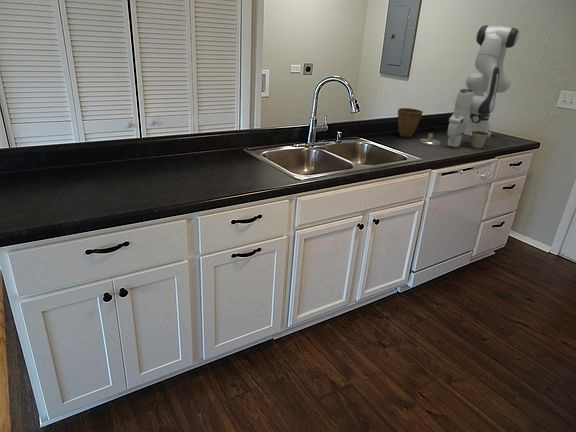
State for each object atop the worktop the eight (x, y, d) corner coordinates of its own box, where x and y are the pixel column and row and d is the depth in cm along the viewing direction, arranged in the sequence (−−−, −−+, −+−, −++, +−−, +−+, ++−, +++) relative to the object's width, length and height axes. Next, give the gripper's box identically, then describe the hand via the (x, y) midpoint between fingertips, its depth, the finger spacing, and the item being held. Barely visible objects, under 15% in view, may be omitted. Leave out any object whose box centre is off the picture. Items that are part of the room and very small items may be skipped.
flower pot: (475, 149, 231) (479, 134, 227) (464, 145, 239) (468, 131, 236) (488, 149, 234) (492, 134, 230) (478, 145, 242) (481, 130, 238)
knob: (450, 143, 241) (452, 132, 239) (460, 145, 238) (463, 134, 235) (446, 145, 237) (448, 133, 234) (456, 147, 233) (459, 135, 230)
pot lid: (424, 139, 247) (426, 130, 245) (443, 143, 240) (445, 134, 238) (415, 142, 239) (417, 133, 237) (434, 146, 232) (436, 137, 229)
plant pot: (389, 133, 256) (393, 108, 249) (406, 132, 263) (410, 107, 256) (405, 139, 244) (410, 113, 238) (422, 137, 251) (428, 112, 244)
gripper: (461, 115, 240) (455, 138, 245) (448, 119, 225) (442, 143, 231) (471, 117, 236) (465, 140, 242) (459, 121, 222) (453, 145, 227)
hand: (454, 141), depth 236 cm, fingers open, 8 cm apart
